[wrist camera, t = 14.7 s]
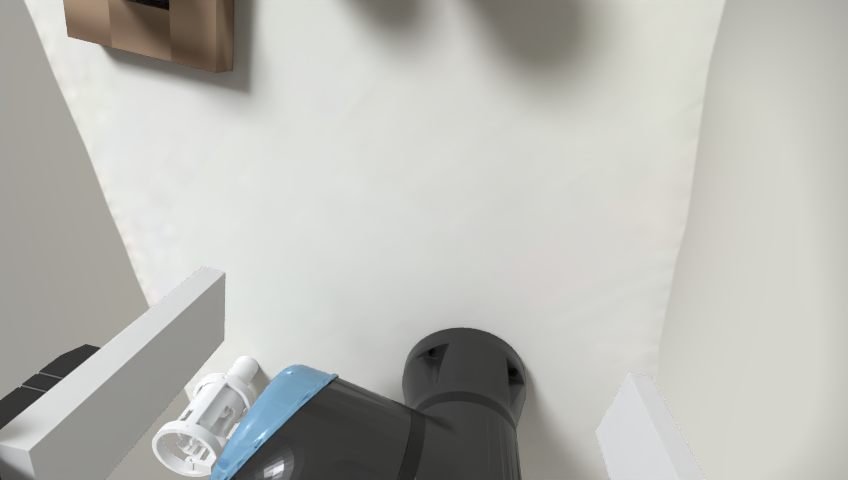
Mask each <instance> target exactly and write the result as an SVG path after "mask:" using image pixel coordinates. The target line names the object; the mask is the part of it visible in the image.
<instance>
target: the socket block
mask: <svg viewBox="0 0 848 480" xmlns="http://www.w3.org/2000/svg"><path fill="white" fill-rule="evenodd" d="M63 3H64V10H65V18H66V26H67V34H68V37H72V38H76V39H80V40H84V41H88V42H92V43H96V44H100V45H105V46H109V47H113V48H117V49H121V50H125V51H129V52H133V53H137V54H142V55H146V56H150V57H154V58H158V59H162V60H166V61H170V62H174V63H179V64H183V65H187V66H191V67H195V68H199V69H203V70H207V71H212V72H226V71H233V27H234V0H169V8H166V7H162V6H158V5H154V4H150V3H146V2H142V1H138V0H63Z"/></svg>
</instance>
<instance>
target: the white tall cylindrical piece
mask: <svg viewBox="0 0 848 480" xmlns="http://www.w3.org/2000/svg"><path fill="white" fill-rule="evenodd" d="M258 369H259V366H258V363H257V362H256V360H254V359H253V358H251V357H249V356H241V357H239V358H238V359H237V361H236V362H235V363H234V365H233V366H232V367H231V369H230V370H229V371H228V373H227V374H225V373H211V374H208V375H206V376H204V377H203V378H202V379H201V380H200V381H199V383H198V384H197V385H196V386H195V388H194V390H193V401H192V402H191V403H190V404H189V406H188V407H187V408H186V410H185V411H184V412H183V413H182V415H181V416H180V417H179V418H178V420H177V421H172V422H169V423H167V424H165V425H164V426H163V427H162V428H161V429H160V430H159V431H158V433H157V434H156V435H155V436H154V438H153V440H152V448H153V452H154V453H155V455H156V457H157V458H158V459H159V460H160V461H161V463H162V464H164V465H165V466H166V467H167V468H169V469H171V470H172V471H174V472H177V473H179V474H182V475H186V476H190V477H202V476H206V475H208V474H210V475H211V472H212V470H213V468H214V466H215V465H216V463H217V462H218V460H219V458H220V456H221V455H222V454H223V451H224V448H225V447H226V445H227V443H228V441H229V440H228V439H227V438H226V437H227V436H228V434H229V432H230V431H231V429H232V428H233V426H234V425H235V423H238V422H241V421H242V420H243V418H244V417H245V415H246V414H247V412H248V411H249V410H250V408H251V407H252V405H253V404H254V398H253V395H252V392H251V391H250V389H249V388H248V387H247V386H248V384H249V383H250V381H251V380H252V378H253V377H254V375H255V374H256V372H257V371H258ZM204 384H205V385H204ZM203 385H204V387H203V388H202V386H203ZM245 407H246V410H245V411H244V412H243V410H244V409H245ZM232 409H233V410H232ZM167 433H178V435H179V437H180V439H179V440H178V442H177V443H176V445H177V446H178V447H179V448H180V449H181V450H183V451H184V453H188V454H190V455H191V456H190V457H187V458H186V459H185V461H182V460H180V459H179V458H177V457H175V456H174V455H173V454H172V453H171V452H170V451H169V450H168V449H167V447H166V446H165V444H164V440H163V435H164V434H167ZM207 450H209V451H210V454H209V455H208V457H207V458H206V460H205V461H203V460H201V459H202V457H203V456H204V454H205V453H206V451H207Z"/></svg>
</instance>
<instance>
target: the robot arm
mask: <svg viewBox="0 0 848 480" xmlns="http://www.w3.org/2000/svg"><path fill="white" fill-rule="evenodd" d="M224 321H225V272H222V271H218V270H214V269H210V268H206V267H201V268H200V269H198V270H197V271H196V272H195V273H193V274H192V275H191V276H190V277H189V278H187V279H186V280H185V281H184V282H182V283H181V284H180V285H179V286H177V287H176V288H175V289H174V290H172V291H171V292H170V293H169V294H168V295H166V296H165V297H164V298H163V299H161V300H160V301H159V302H158V303H156V304H155V305H154V306H153V307H151V308H150V309H149V310H148V311H147V312H145V313H144V314H143V315H142V316H140V317H139V318H138V319H137V320H135V321H134V322H133V323H132V324H130V325H129V326H128V327H127V328H126V329H124V330H123V331H122V332H121V333H119V334H118V335H117V336H116V337H114V338H113V339H112V340H111V341H110V342H108V343H107V344H106V345H105V346H103V347H102V348H99V347H95V346H91V345H87V344H85V345H83V346H81V347H79V348H76V349H74V350H72V351H70V352H67V353H65V354H63V355H61V356H59V357H58V358H56V359H55V360H54V361H53V362H51V363H50V364H48V365H47V366H46V367H45V368H43V369H42V370H41V371H40V372H39V374H35V375H34V376H32V377H31V378H30V379H28V380H27V381H26V382H24V383H23V384H22V386H21V387H20V388H19V387H18V388H16V389H15V390H14V391H12V392H11V393H10V394H8V395H7V396H6V397H4V398H3V399H2V400H0V480H105V479H106V478H107V477H108V476H109V475H110V473H111V472H112V471H113V470H114V469H115V468H116V467H117V465H118V464H119V463H120V462H121V461H122V459H123V458H124V457H125V456H126V455H127V454H128V452H129V451H130V450H131V449H132V448H133V446H134V445H135V444H136V443H137V442H138V440H139V439H140V438H141V437H142V436H143V435H144V434H145V432H146V431H147V430H148V429H149V428H150V426H151V425H152V424H153V423H154V422H155V421H156V420H157V418H158V417H159V416H160V415H161V414H162V413H163V411H164V410H165V409H166V408H167V407H168V405H169V404H170V403H171V402H172V401H173V399H174V398H175V397H176V396H177V395H178V394H179V393H180V391H181V390H182V389H183V388H184V387H185V386H186V384H187V383H188V382H189V381H190V380H191V378H192V377H193V376H194V375H195V374H196V373H197V371H198V370H199V369H200V368H201V367H202V366H203V364H204V363H205V362H206V361H207V360H208V359H209V357H210V356H211V355H212V354H213V353H214V351H215V350H216V349H217V348H218V347H219V346H220V344H221V343H222V342H223V341H224ZM338 377H339V376H338V375H337V374H332V375H330V374H327V373H325V372H322V371H319V370H316V369H313V368H310V367H308V366H305V365H293V366H290V367H288V368H286V369H284V370H283V371H281V372H280V373H279V374H278V375H277V376H276V377H275V378H274V379H273V380H272V381H271V382H270V384H269V385H268V386H267V387H266V388H265V390H264V391H263V392H262V393H261V395H260V396H259V397H258V399H257V400H256V401H255V403H254V404H253V405H252V407H251V408H250V410H249V411H248V412H247V414H246V415H245V417H244V418H243V420H242V421H241V423H240V424H239V426H238V427H237V429H236V430H235V432H234V433H233V435H232V437H231V438H230V440H229V441H228V443H227V445H226V447H225V448H224V451H223V454H222V455H221V456H220V458H219V460H218V462H217V463H216V465H215V466H214V468H213V470H212V472H211V475H210V478H209V480H522V478H521V469H520V461H519V452H518V443H517V435H516V427H517V424H518V421H519V417H520V414H521V411H522V408H523V404H524V401H525V397H526V380H525V373H524V368H523V365H522V362H521V360H520V358H519V356H518V355H517V353H516V352H515V351H514V350H513V349H512V348H511V347H510V346H509V345H508V344H507V343H506V342H504V341H503V340H502V339H500V338H498V337H496V336H494V335H492V334H490V333H487V332H485V331H481V330H477V329H471V328H451V329H446V330H441V331H438V332H435V333H433V334H431V335H429V336H427V337H425V338H424V339H422V340H421V341H420V342H419V343H418V344H417V345H416V346H415V347H414V348H413V349H412V350H411V352H410V354H409V355H408V358H407V360H406V364H405V368H404V373H403V379H402V387H403V394H404V398H405V403H406V406H405V405H403V404H400V403H398V402H395V401H393V400H390V399H388V398H386V397H383V396H381V395H378V394H376V393H374V392H371V391H369V390H367V389H364V388H362V387H359V386H357V385H355V384H352V383H350V382H347V381H345V380H343V379H340V378H338ZM595 433H596V436H597V439H598V442H599V446H600V449H601V452H602V455H603V458H604V462H605V465H606V468H607V471H608V475H609V478H610V480H707V479H706V477H705V475H704V473H703V471H702V469H701V468H700V466H699V464H698V462H697V460H696V458H695V456H694V454H693V453H692V451H691V449H690V447H689V445H688V443H687V441H686V440H685V438H684V436H683V434H682V432H681V430H680V428H679V426H678V424H677V423H676V421H675V419H674V417H673V415H672V413H671V411H670V410H669V408H668V406H667V404H666V402H665V400H664V398H663V397H662V395H661V393H660V391H659V389H658V387H657V385H656V383H655V381H654V380H653V378H652V377H648V376H644V375H640V374H636V373H632V372H628V374H627V376H626V378H625V380H624V381H623V383H622V385H621V387H620V389H619V390H618V392H617V394H616V396H615V398H614V399H613V401H612V403H611V405H610V407H609V409H608V410H607V412H606V414H605V416H604V418H603V419H602V421H601V423H600V425H599V427H598V428H597V430H596V432H595Z"/></svg>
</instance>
